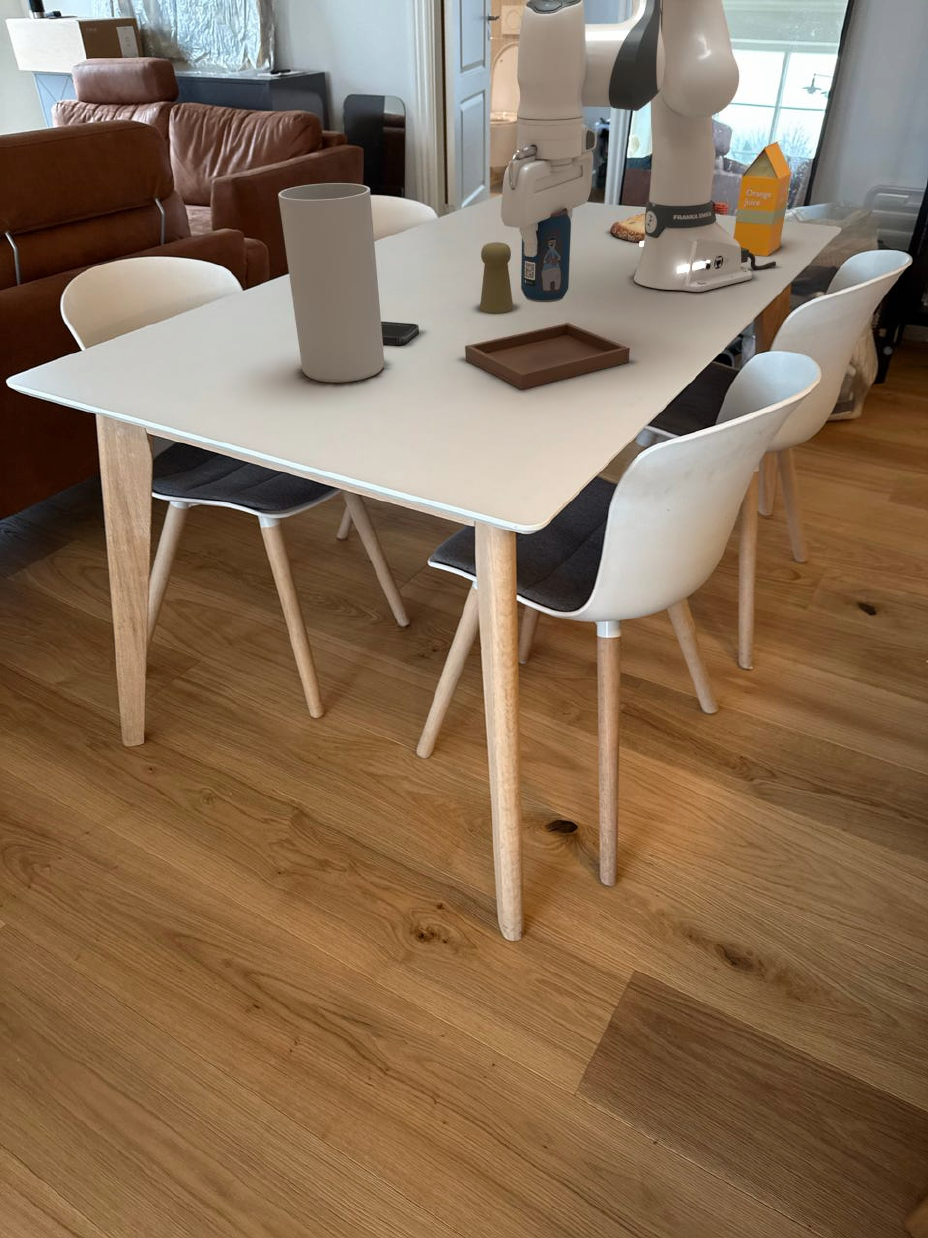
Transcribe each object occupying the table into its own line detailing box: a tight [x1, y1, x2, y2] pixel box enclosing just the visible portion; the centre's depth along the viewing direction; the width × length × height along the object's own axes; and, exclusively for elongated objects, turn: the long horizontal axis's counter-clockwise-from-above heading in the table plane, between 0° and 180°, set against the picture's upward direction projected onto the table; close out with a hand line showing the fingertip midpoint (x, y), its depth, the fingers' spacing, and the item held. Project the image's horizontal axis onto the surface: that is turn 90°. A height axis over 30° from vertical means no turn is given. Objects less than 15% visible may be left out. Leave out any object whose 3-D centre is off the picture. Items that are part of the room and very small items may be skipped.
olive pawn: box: [479, 241, 514, 314], centre depth 159 cm, size 6×6×11 cm
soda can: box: [520, 208, 572, 304], centre depth 130 cm, size 7×7×12 cm
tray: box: [464, 322, 631, 390], centre depth 138 cm, size 20×16×2 cm
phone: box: [381, 320, 420, 346], centre depth 151 cm, size 8×1×15 cm
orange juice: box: [733, 141, 792, 257], centre depth 186 cm, size 8×9×20 cm
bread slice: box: [609, 213, 645, 243], centre depth 203 cm, size 18×18×4 cm
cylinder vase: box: [277, 182, 385, 384], centre depth 131 cm, size 12×12×25 cm
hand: (546, 249), depth 129 cm, fingers closed on soda can, 7 cm apart
